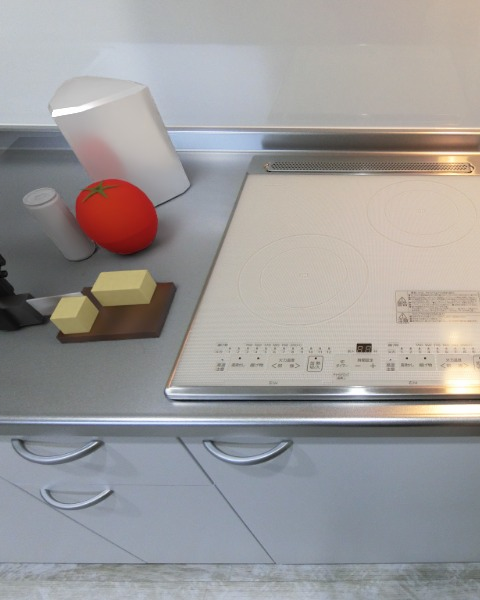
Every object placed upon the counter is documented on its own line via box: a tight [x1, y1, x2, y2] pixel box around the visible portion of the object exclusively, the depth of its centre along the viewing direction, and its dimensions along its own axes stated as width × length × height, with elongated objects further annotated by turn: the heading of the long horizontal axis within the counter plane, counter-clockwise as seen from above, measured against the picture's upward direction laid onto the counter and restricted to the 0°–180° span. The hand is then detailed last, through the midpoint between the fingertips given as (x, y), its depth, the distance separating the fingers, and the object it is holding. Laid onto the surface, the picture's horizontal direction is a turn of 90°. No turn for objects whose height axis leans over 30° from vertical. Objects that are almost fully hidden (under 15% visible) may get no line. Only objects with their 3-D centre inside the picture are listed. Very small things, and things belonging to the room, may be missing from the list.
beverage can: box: [21, 187, 96, 262], centre depth 72 cm, size 5×5×12 cm
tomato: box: [74, 179, 159, 255], centre depth 73 cm, size 11×11×13 cm
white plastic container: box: [47, 75, 191, 207], centre depth 79 cm, size 15×14×22 cm
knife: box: [0, 291, 84, 327], centre depth 64 cm, size 17×3×4 cm, turn 95°
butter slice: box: [49, 296, 99, 334], centre depth 63 cm, size 4×4×4 cm
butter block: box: [91, 269, 157, 306], centre depth 67 cm, size 7×4×4 cm, turn 94°
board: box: [55, 281, 177, 344], centre depth 67 cm, size 14×10×2 cm
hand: (14, 319), depth 66 cm, fingers closed on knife, 3 cm apart
